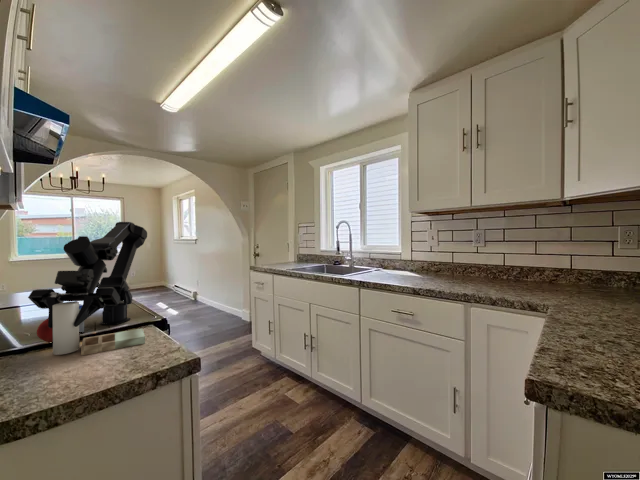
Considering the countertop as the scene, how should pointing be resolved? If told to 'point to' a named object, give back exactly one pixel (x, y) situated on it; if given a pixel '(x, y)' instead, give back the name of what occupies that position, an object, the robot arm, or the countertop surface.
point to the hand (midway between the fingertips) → (62, 326)
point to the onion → (45, 332)
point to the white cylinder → (65, 328)
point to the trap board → (112, 341)
